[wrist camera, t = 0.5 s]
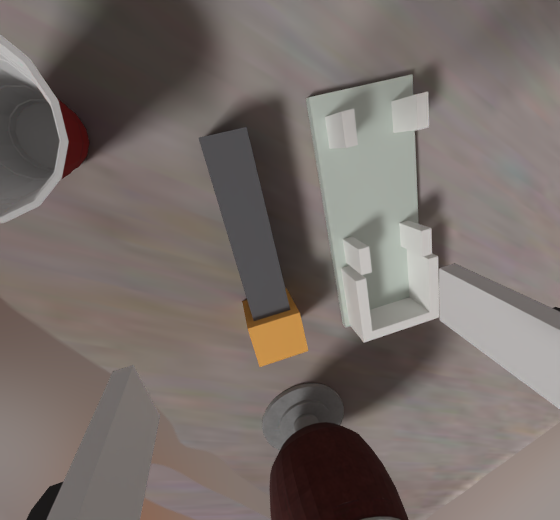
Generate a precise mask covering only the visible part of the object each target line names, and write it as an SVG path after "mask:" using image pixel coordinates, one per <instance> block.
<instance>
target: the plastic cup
mask: <svg viewBox="0 0 560 520" xmlns="http://www.w3.org/2000/svg"><path fill="white" fill-rule="evenodd" d="M88 148H89V139H88V135H87V131H86V128H85V127H84V125H83V124H82V122H81V121H80V119H79V118H78V116H77V115H76V114H75V113H74V112H73V111H72V110H70V109H69V108H68V107H67V106H66V105H65V104H64V103H62V102H61V101H60V100H59V99H57V98H56V96H55V95H54V93H53V92H52V90H51V89H50V87H49V86H48V84H47V83H46V82H45V80H44V79H43V77H42V76H41V74H40V73H39V71H38V70H37V68H36V67H35V65H34V64H33V62H32V61H31V59H30V58H29V57H28V56H26V55H25V54H24V53H23V52H21V51H20V50H19V49H18V48H16V47H15V46H14V45H13V44H12V43H10V42H9V41H8V40H7V39H5V38H4V37H3V36H2V35H0V223H5V222H7V221H9V220H11V219H13V218H16V217H18V216H20V215H22V214H24V213H26V212H28V211H30V210H32V209H34V208H36V207H38V206H40V205H41V204H42V202H43V201H44V200H45V198H46V197H47V196H48V195H49V193H50V192H51V191H52V190H53V188H54V187H55V186H56V185H57V183H58V182H59V181H60V180H61V179H62V178H64V177H65V176H67V175H68V174H70V173H71V172H72V171H73V170H74V169H76V168H77V167H79V166H80V165H81V163H82V162H83V161H84V159H85V158H86V157H87V153H88Z"/></svg>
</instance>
